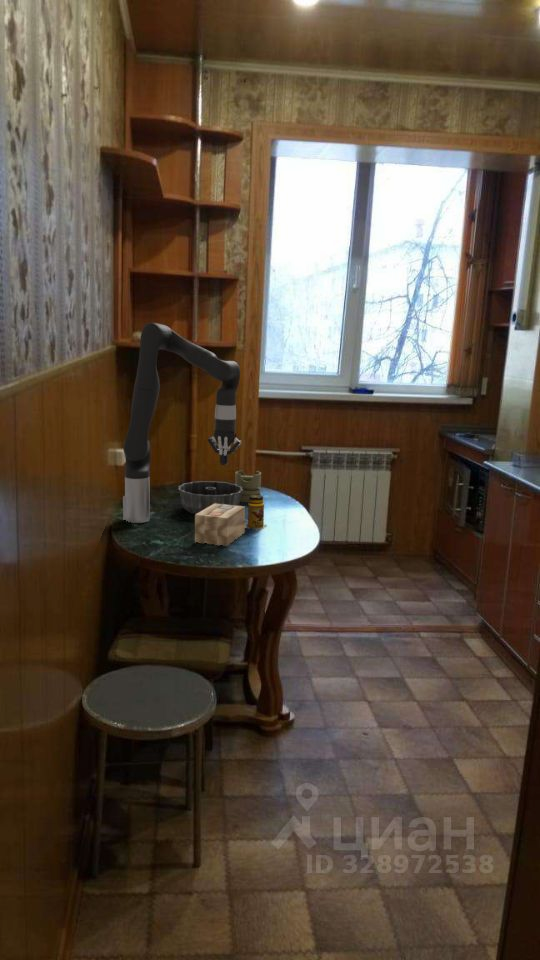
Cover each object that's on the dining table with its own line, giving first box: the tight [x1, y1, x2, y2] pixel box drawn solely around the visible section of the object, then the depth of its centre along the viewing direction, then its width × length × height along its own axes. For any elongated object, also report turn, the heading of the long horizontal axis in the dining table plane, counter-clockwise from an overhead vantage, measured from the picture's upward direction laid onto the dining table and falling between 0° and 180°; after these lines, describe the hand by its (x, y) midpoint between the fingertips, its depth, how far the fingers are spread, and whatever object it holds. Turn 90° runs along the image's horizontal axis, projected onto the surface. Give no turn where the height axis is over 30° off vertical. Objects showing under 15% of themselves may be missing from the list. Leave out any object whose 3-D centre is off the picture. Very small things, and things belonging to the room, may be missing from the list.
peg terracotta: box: [208, 512, 223, 516], centre depth 249 cm, size 4×4×8 cm
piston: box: [234, 470, 262, 503], centre depth 313 cm, size 11×12×11 cm
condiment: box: [245, 495, 267, 530], centre depth 270 cm, size 7×8×12 cm
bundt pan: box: [178, 480, 243, 514], centre depth 291 cm, size 26×26×10 cm
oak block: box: [194, 503, 246, 547], centre depth 254 cm, size 12×18×10 cm, turn 162°
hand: (223, 465), depth 257 cm, fingers closed
